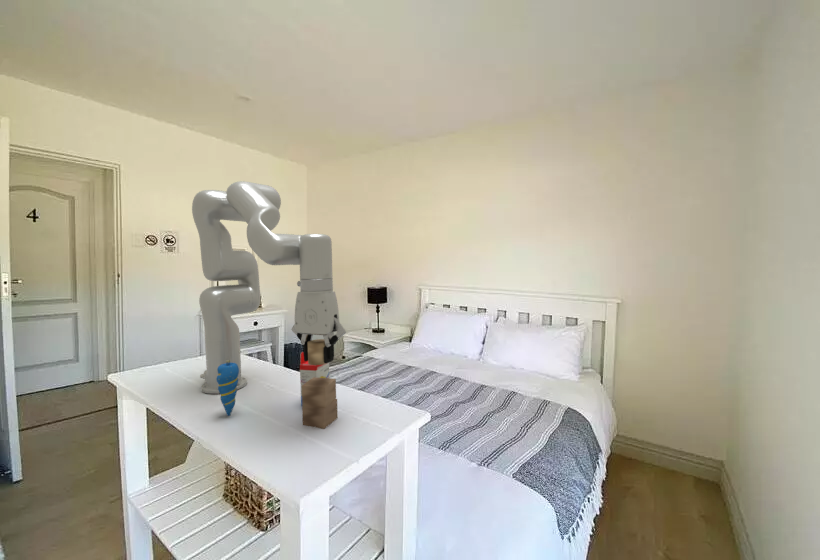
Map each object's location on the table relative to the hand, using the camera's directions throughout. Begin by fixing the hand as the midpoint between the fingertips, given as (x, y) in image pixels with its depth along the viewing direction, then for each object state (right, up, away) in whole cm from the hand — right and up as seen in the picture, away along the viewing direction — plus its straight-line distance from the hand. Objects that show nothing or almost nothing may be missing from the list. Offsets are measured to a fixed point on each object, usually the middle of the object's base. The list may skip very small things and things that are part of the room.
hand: (318, 359), depth 87 cm
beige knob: (0, -1, 0) cm, 1 cm away
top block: (0, -11, +1) cm, 11 cm away
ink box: (-4, -15, +13) cm, 20 cm away
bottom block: (0, -15, +1) cm, 16 cm away
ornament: (-24, -16, +5) cm, 29 cm away
